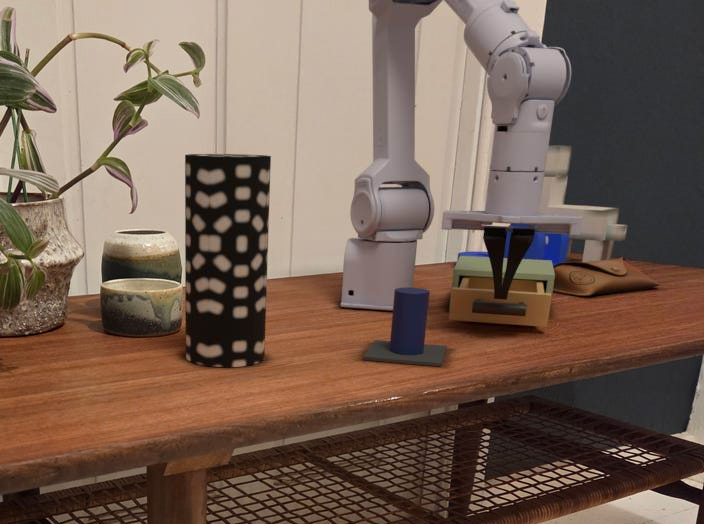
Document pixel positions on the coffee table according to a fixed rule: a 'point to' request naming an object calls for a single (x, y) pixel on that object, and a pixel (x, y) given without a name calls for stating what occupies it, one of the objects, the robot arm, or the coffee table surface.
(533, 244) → the bracket
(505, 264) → the cabinet
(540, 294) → the drawer
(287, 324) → the coffee table surface
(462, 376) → the coffee table surface
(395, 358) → the mat
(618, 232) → the toy llama
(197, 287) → the white-spotted black cylinder
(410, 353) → the dark blue cylinder
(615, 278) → the sunglasses case
